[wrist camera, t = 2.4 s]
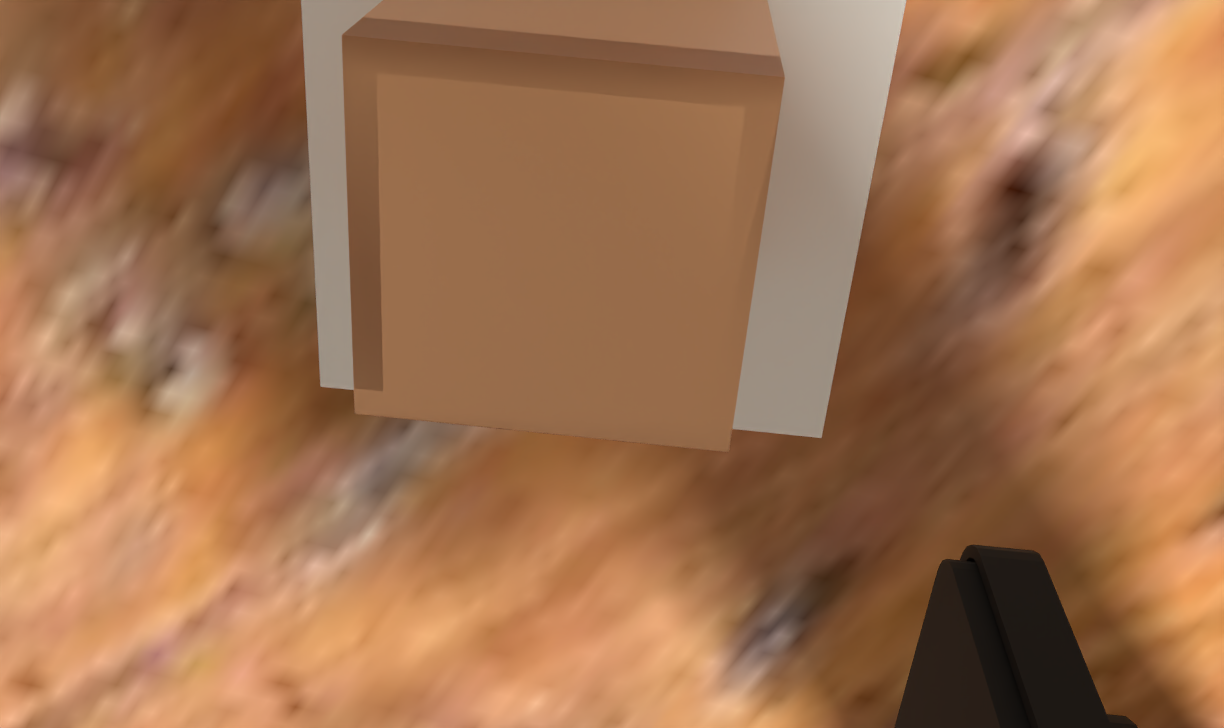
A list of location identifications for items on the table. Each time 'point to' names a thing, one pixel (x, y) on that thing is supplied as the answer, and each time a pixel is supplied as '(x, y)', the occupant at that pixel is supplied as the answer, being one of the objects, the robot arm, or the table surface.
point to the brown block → (558, 211)
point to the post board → (794, 214)
